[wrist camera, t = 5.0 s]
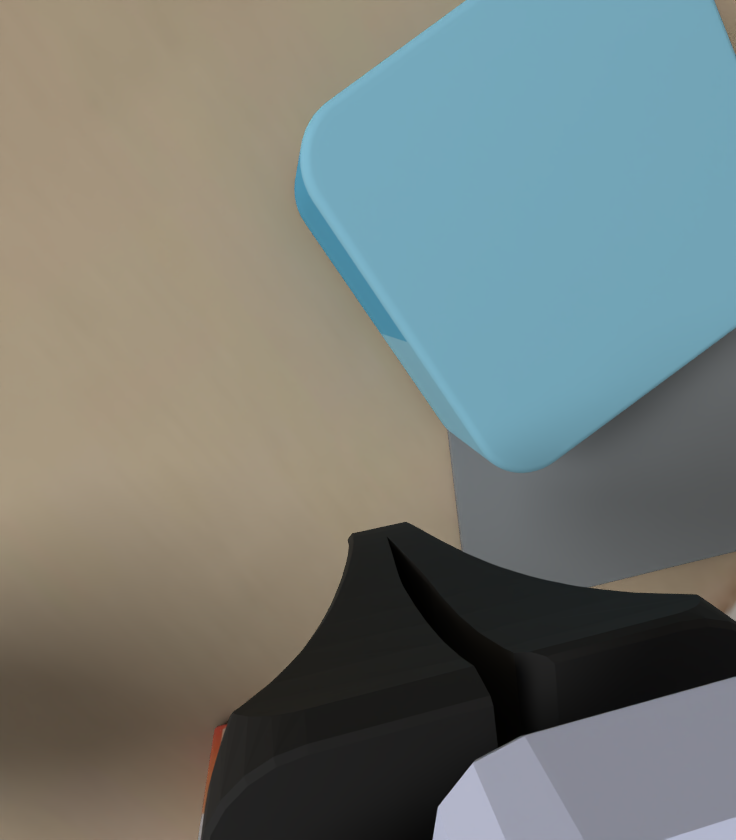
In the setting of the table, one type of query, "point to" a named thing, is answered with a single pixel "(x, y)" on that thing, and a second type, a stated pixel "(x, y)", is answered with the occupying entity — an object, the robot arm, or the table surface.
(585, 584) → the mat
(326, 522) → the table surface
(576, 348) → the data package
